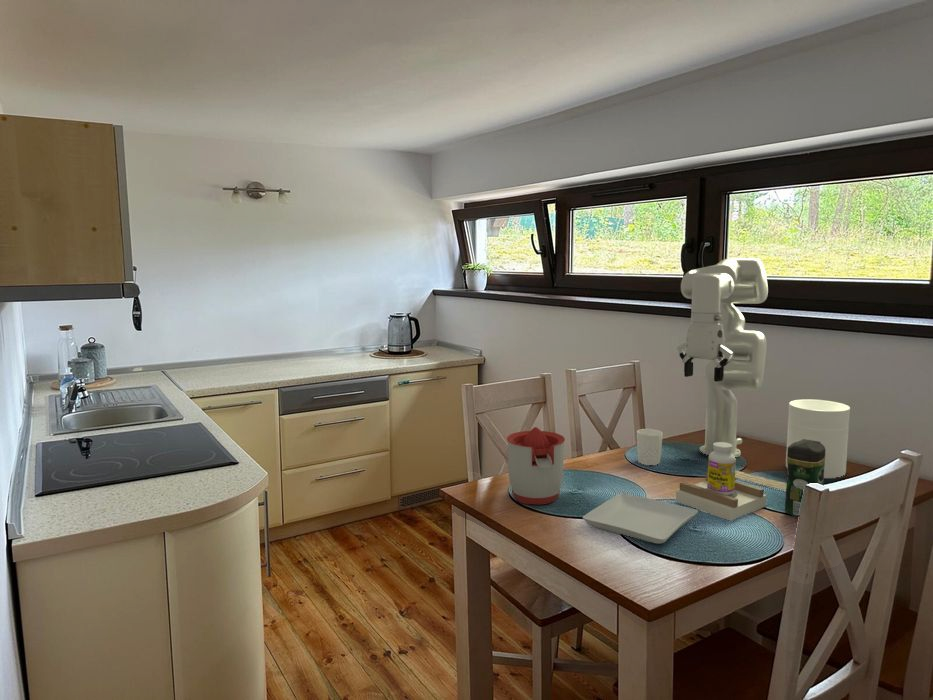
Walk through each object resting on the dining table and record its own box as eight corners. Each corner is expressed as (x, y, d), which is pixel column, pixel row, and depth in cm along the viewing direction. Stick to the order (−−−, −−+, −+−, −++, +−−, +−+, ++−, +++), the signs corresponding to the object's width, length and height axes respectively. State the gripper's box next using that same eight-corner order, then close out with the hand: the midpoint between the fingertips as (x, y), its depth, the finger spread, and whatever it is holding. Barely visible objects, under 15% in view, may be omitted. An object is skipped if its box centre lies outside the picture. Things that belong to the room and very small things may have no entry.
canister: (857, 472, 189) (862, 407, 186) (822, 481, 182) (826, 413, 179) (808, 458, 203) (811, 397, 201) (774, 466, 196) (777, 403, 194)
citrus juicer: (515, 513, 163) (515, 438, 161) (502, 490, 180) (501, 421, 178) (574, 509, 166) (574, 434, 163) (555, 486, 183) (555, 418, 180)
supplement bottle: (702, 492, 167) (704, 444, 165) (712, 485, 172) (714, 439, 170) (728, 498, 162) (730, 449, 160) (738, 491, 167) (740, 443, 165)
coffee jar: (792, 503, 166) (796, 435, 164) (825, 511, 161) (830, 440, 158) (779, 514, 160) (783, 443, 157) (814, 523, 154) (818, 449, 152)
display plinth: (711, 488, 178) (712, 471, 177) (766, 506, 165) (767, 487, 164) (675, 501, 169) (676, 483, 168) (730, 521, 156) (730, 501, 155)
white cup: (665, 466, 198) (665, 435, 197) (639, 466, 198) (640, 435, 197) (657, 458, 206) (658, 428, 205) (633, 458, 206) (634, 428, 205)
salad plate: (580, 529, 154) (580, 515, 154) (620, 503, 170) (620, 490, 170) (664, 554, 140) (664, 539, 140) (699, 522, 156) (699, 509, 156)
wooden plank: (715, 476, 191) (715, 470, 190) (727, 470, 195) (727, 465, 195) (796, 497, 173) (796, 491, 172) (807, 491, 177) (807, 485, 177)
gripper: (741, 319, 173) (738, 381, 176) (687, 316, 187) (685, 373, 190) (725, 321, 169) (722, 384, 171) (671, 317, 183) (669, 376, 185)
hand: (703, 378), depth 181 cm, fingers open, 9 cm apart
